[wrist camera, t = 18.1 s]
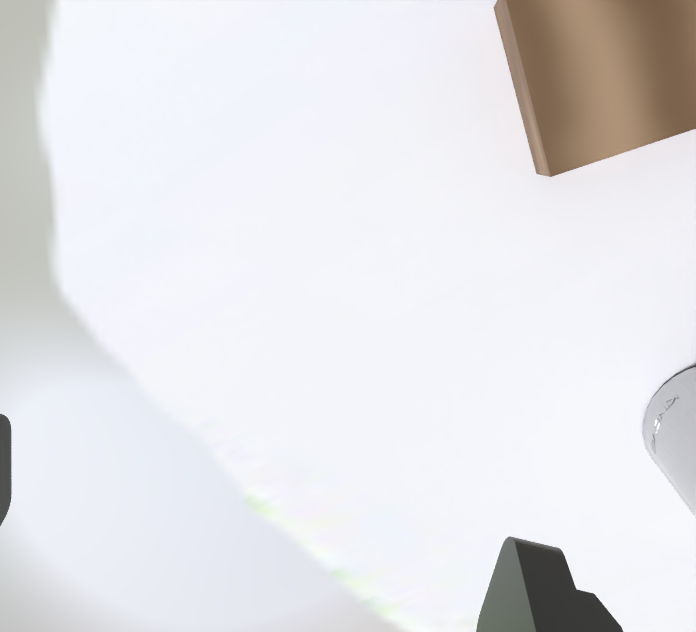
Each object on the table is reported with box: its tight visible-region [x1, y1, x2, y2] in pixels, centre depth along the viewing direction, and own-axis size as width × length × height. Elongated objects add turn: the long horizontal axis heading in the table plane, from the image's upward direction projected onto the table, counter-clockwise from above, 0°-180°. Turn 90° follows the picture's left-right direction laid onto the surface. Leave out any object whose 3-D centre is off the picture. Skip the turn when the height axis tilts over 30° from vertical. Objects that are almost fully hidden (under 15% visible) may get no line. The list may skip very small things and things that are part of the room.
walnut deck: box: [494, 0, 696, 177], centre depth 31 cm, size 14×10×4 cm
